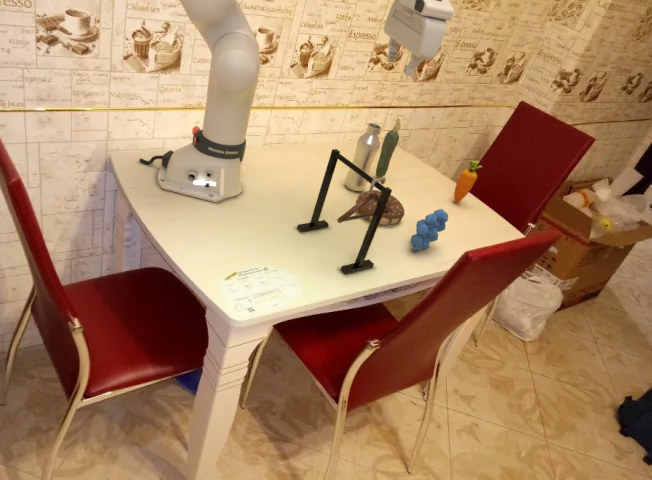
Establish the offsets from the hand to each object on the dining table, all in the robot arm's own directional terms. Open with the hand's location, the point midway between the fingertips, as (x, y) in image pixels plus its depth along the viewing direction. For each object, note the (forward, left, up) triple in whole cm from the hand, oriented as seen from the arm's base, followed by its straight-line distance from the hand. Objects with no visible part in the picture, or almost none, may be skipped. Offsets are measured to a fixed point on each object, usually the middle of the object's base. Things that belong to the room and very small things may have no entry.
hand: (398, 68), depth 114 cm
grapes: (+20, -5, -42) cm, 47 cm away
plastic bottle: (+7, +23, -42) cm, 48 cm away
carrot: (+42, +25, -42) cm, 64 cm away
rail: (-5, -11, -42) cm, 43 cm away
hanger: (-2, -17, -29) cm, 33 cm away
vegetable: (+17, +33, -42) cm, 56 cm away
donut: (+11, +9, -42) cm, 44 cm away
